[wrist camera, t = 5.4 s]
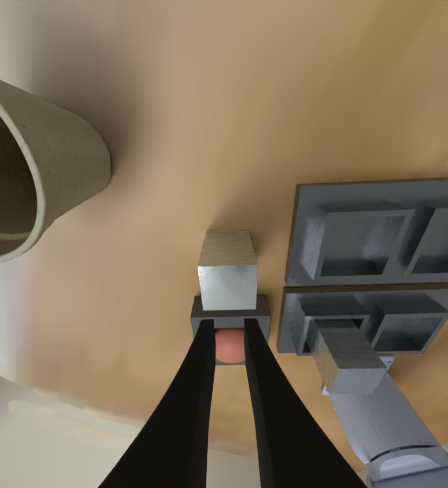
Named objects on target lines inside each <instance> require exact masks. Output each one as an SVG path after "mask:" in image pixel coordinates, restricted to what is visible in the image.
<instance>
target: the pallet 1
mask: <svg viewBox="0 0 448 488" xmlns="http://www.w3.org/2000/svg"><path fill="white" fill-rule="evenodd" d="M285 282H286V284H287V286H308V285H344V284H379V283H415V282H448V178H435V179H412V180H389V181H366V182H343V183H320V184H297V186H296V194H295V201H294V209H293V217H292V225H291V233H290V241H289V249H288V257H287V265H286V273H285Z"/></svg>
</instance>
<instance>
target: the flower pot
mask: <svg viewBox="0 0 448 488" xmlns="http://www.w3.org/2000/svg"><path fill="white" fill-rule="evenodd" d="M110 178H111V163H110V153H109V150H108V148H107V146H106V144H105V142H104V140H103V139H102V137H101V136H100V134H99V133H98V132H97V130H96V129H95V128H94V127H93V126H92V125H91V124H90V123H88V122H87V121H86V120H85V119H83V118H82V117H80V116H79V115H77V114H75V113H73V112H71V111H68V110H66V109H63V108H61V107H59V106H56V105H54V104H52V103H50V102H47V101H45V100H43V99H41V98H39V97H37V96H34V95H32V94H30V93H28V92H26V91H23V90H21V89H19V88H17V87H15V86H13V85H10V84H8V83H6V82H4V81H2V80H0V262H5V261H8V260H11V259H14V258H16V257H18V256H20V255H22V254H23V253H25V252H27V251H28V250H30V249H31V248H32V247H33V246H34V245H35V244H36V243H37V242H38V241H39V239H40V238H41V236H42V234H43V232H44V231H45V230H46V229H48V228H49V227H50V226H51V224H52V223H53V221H54V220H55V219H57V218H58V217H60V216H62V215H63V214H65V213H66V212H68V211H69V210H71V209H73V208H74V207H76V206H77V205H79V204H81V203H82V202H84V201H86V200H87V199H89V198H91V197H92V196H94V195H96V194H98V193H100V192H101V191H102V190H103V189H104V188H105V187H106V186H107V184H108V182H109V180H110Z"/></svg>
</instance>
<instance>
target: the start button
mask: <svg viewBox="0 0 448 488" xmlns="http://www.w3.org/2000/svg"><path fill="white" fill-rule="evenodd" d="M215 338H216V359H218V360H219V361H221V362H225V363H238V362H242V361H244V360H245V351H244V328H215Z"/></svg>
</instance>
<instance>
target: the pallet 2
mask: <svg viewBox="0 0 448 488" xmlns="http://www.w3.org/2000/svg"><path fill="white" fill-rule="evenodd" d="M316 319H352V321H353V322H354V324H355V325H356V326H357V328H358V329H359V330H360V332H361V333H362V334H363V336H364V337H365V338H366V340H367V341H368V343H369V344H370V345H371V347H372V348H373V349H374V351H375V352H376V353H377V354H423V353H424V352H425V351H426V349H427V348H428V346H429V345H430V343H431V342H432V341H433V339H434V338H435V336H436V335H437V333H438V332H439V330H440V329H441V328H442V326H443V325H444V323H445V322H446V320H447V319H448V283H421V284H386V285H350V286H314V287H284V288H283V296H282V304H281V312H280V320H279V328H278V336H277V344H276V347H277V351H278V353H297V356H310V355H312V353H311V350H310V348H309V346H308V343H307V341H306V335H307V330H308V326H309V321H310V320H316Z"/></svg>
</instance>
